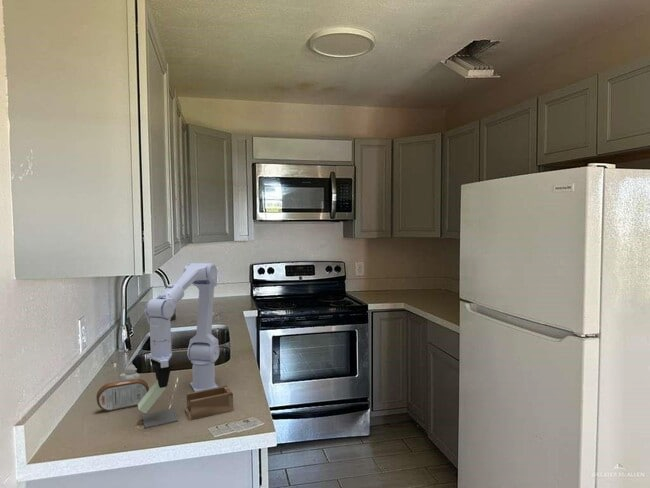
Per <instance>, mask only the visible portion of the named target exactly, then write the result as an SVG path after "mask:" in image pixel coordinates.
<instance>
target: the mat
mask: <svg viewBox="0 0 650 488" xmlns="http://www.w3.org/2000/svg"><path fill="white" fill-rule="evenodd" d="M177 416H178V415H177V413H176V412H175V408H173V407H172V408H168V409H162V410H157V411H154V412H153V411H152V412H149V413H148V412H147V413H146V414H145V413H144V414H141V417H142V421H143V426H144V429H150V428H154V427H159V426H162V425H167V424H171V423H176V422H179V419H178V417H177Z"/></svg>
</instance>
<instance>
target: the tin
mask: <svg viewBox="0 0 650 488" xmlns="http://www.w3.org/2000/svg"><path fill="white" fill-rule="evenodd" d="M149 390H150V388H149V384H148V383H147V382H146V381H145V380H144V379H141V378H139V379H131V380H124V381H121V380H119V381H112V382H108V383H105V384H104V385H102V386H101V387H100V388H99V389H98V390H97V393H96V398H95V399H96V404H97V406H98V407H99V408H100V409H101V410H103V411H106V412H107V411H108V412H111V411H117V410H122V409H123V410H124V409H127V408H132V407H133V408H134V407H138V403H139V402H140V401H141V400H142V398H143V397H144V396H145V395H146V393H147V392H148V391H149Z"/></svg>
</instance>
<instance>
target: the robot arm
mask: <svg viewBox="0 0 650 488" xmlns="http://www.w3.org/2000/svg"><path fill="white" fill-rule="evenodd" d="M218 272H219V269H218V268H217V266H216V265H215V263H214V262H210V263H209V262H200V263H199V262H196V263H195V262H188V263H186V265H185V266H184V267H183V272H182V273H183V274H182V275H181V276H180V277H179V278H178V280H177V281H176V282H175V283H171V284H170V283H169V284H168V285H167V286H166V288H164V290H163V291H162V292H160V294H159V295H158V296H157V297H156V298H152V299H150V300H148V302H146V305H145V309H144V311H143V312H144V316H145V317H146V318H147V324H148V325H149V337H150V340H149V341H150V343H149V345H150V354H147V355H146V359H147V360H149V361H150V363H151V366H152V369H153V370H154V373H155V378H156V381H157V380H158V384H159V387H160V388H163V387H166V388H167V387H168V386H169V385H168V383H169V379H170V374H171V371H172V369H173V367H174V362H173V361H172V362H170V360H171V358H172V356H173V352H172V335H171V333H172V331H171V330H172V329H171V328H172V327H171V326H172V325H171V321H170V318H171V317H172V316H173V314H174V310H175V309H176V308H177V305H178V304H179V303H180V301H181V300H182V299H183V297H184V296H185V291H186V289H188V288H189V287H191V285H193V286H195V287H196V288H197V289H198V303H197V316H196V317H197V319H196V334H195V335H194V336H192V337H191V338H190V340H189V344H188V348H187V351H186V354H187V355H186V356H187V358H188V360H189V361H190V363H191V364H192V381H191V382H190V381H189V382H190V383H189V384H190V386H191V387H192V389H193V392H196V391H201V390H206V389H211V388H216V387H219V386H218V384H217V383H216V377H215V376H216V374H215V373H216V372H215V369H216V368H215V362H217V360H218V359H219V356H220V346H219V339H218V338H217V337H215V335H214V334H212V331H213V330H212V329H213V328H212V326H213V315H214V314H213V313H214V312H213V311H214V297H215V296H214V293H215V287H216V286H217V285H218V274H219V273H218ZM167 385H168V386H167Z"/></svg>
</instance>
